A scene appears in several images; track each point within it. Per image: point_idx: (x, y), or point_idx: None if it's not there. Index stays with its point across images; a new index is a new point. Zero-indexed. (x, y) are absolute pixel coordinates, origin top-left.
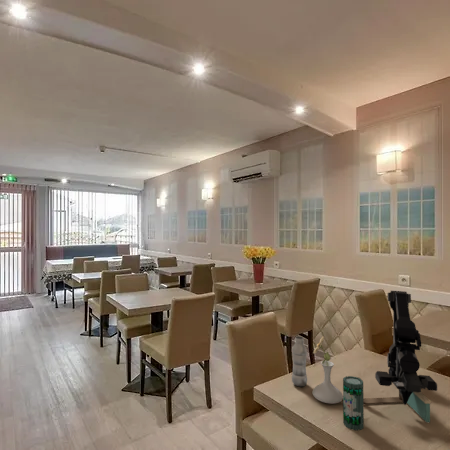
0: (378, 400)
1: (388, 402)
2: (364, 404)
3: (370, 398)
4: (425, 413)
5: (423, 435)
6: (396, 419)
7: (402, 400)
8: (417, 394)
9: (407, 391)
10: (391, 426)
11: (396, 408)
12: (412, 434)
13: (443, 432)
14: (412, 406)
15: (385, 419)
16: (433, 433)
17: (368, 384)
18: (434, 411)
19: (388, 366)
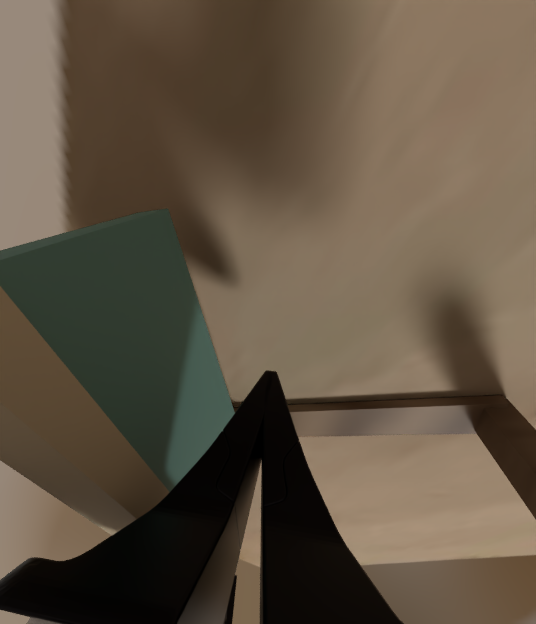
0: (368, 420)
1: (320, 409)
2: (470, 397)
3: (402, 432)
4: (129, 237)
5: (245, 37)
6: (362, 274)
7: None
8: (104, 465)
9: (230, 519)
10: (478, 165)
11: (297, 373)
12: (352, 32)
13: (75, 140)
14: (214, 372)
15: (451, 266)
16: (149, 105)
17: (332, 491)
18: None
19: (234, 581)
